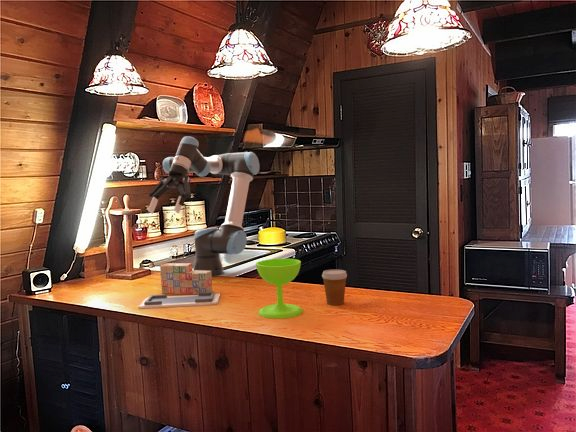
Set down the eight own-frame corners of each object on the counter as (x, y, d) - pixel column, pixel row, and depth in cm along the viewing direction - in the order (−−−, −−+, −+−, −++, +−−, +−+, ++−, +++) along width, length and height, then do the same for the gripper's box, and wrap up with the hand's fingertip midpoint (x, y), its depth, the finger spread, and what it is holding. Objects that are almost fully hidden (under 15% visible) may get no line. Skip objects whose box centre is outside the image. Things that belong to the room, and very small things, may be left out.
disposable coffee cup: (330, 308, 181) (329, 275, 180) (318, 302, 190) (317, 271, 189) (353, 304, 185) (352, 272, 184) (339, 298, 194) (338, 268, 193)
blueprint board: (146, 299, 205) (146, 294, 205) (220, 295, 206) (219, 290, 206) (138, 308, 191) (138, 303, 191) (217, 304, 192) (216, 299, 192)
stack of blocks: (212, 291, 214) (211, 263, 213) (206, 295, 208) (204, 266, 207) (169, 290, 221) (167, 262, 220) (161, 293, 215) (159, 265, 214)
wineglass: (286, 303, 189) (284, 256, 188) (311, 312, 176) (309, 262, 175) (250, 311, 181) (247, 262, 179) (273, 321, 167) (271, 268, 166)
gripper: (151, 165, 214) (134, 207, 204) (199, 162, 203) (182, 206, 193) (162, 175, 220) (145, 216, 210) (208, 172, 209) (193, 216, 199)
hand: (163, 211), depth 202 cm, fingers open, 13 cm apart
